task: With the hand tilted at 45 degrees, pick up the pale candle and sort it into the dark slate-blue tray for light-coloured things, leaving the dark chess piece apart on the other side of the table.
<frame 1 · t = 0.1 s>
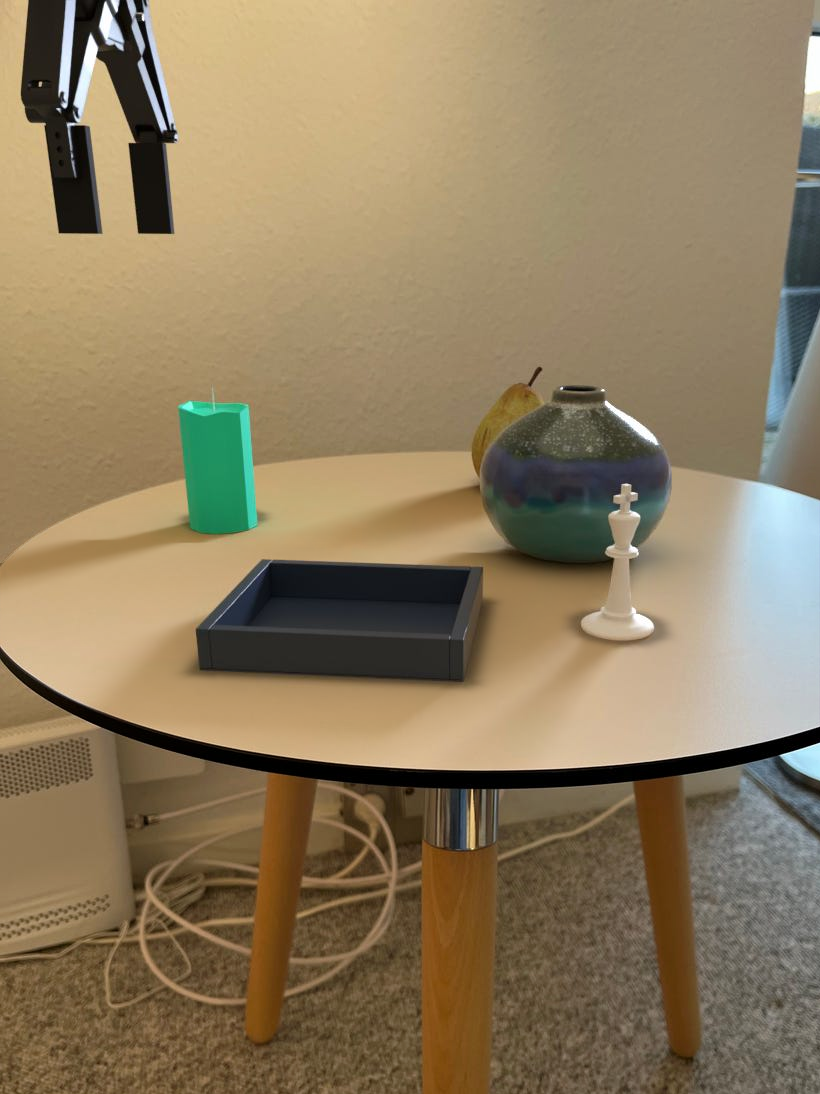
hand: (121, 234, 75), 24 cm above the table, tool pointing down, fingers open, 13 cm apart
fruit: (513, 488, 106), on the table
candle: (224, 526, 91), on the table
chess piece: (616, 636, 67), on the table
vase: (571, 555, 84), on the table
tray: (353, 640, 65), on the table
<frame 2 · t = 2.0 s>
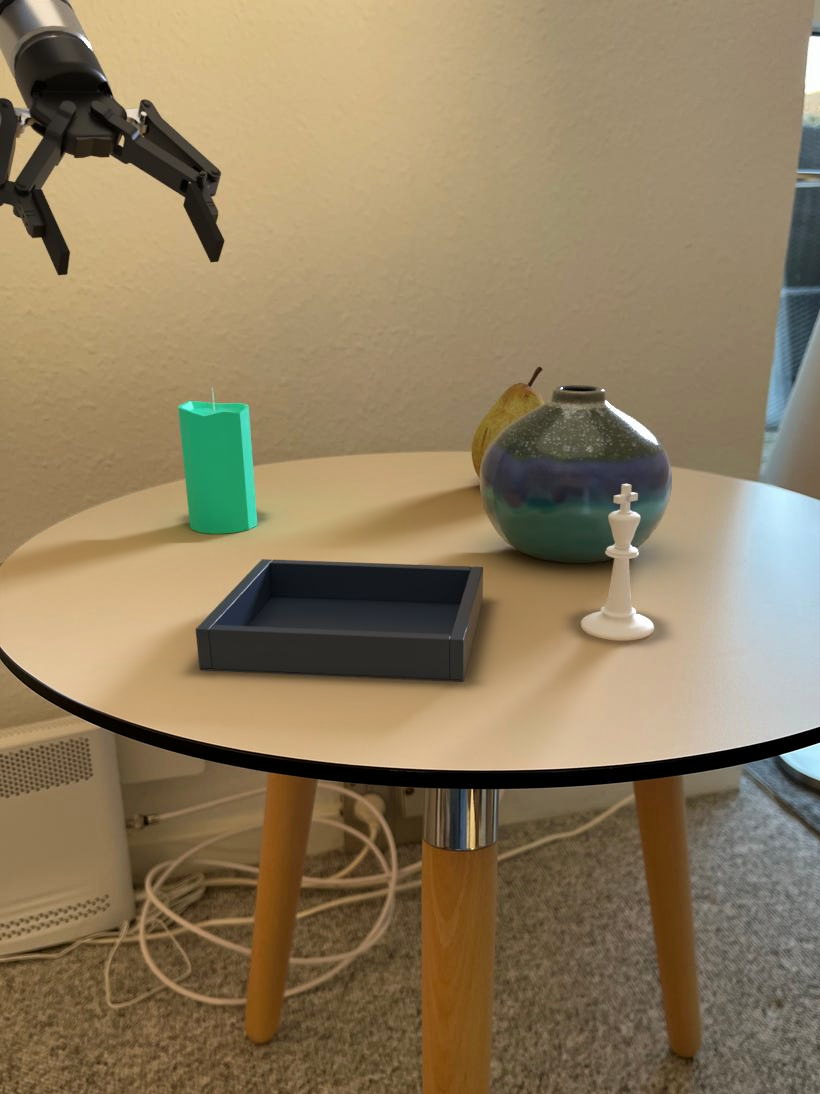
hand: (144, 258, 88), 22 cm above the table, tool tilted 40°, fingers open, 13 cm apart
nothing on the table moved.
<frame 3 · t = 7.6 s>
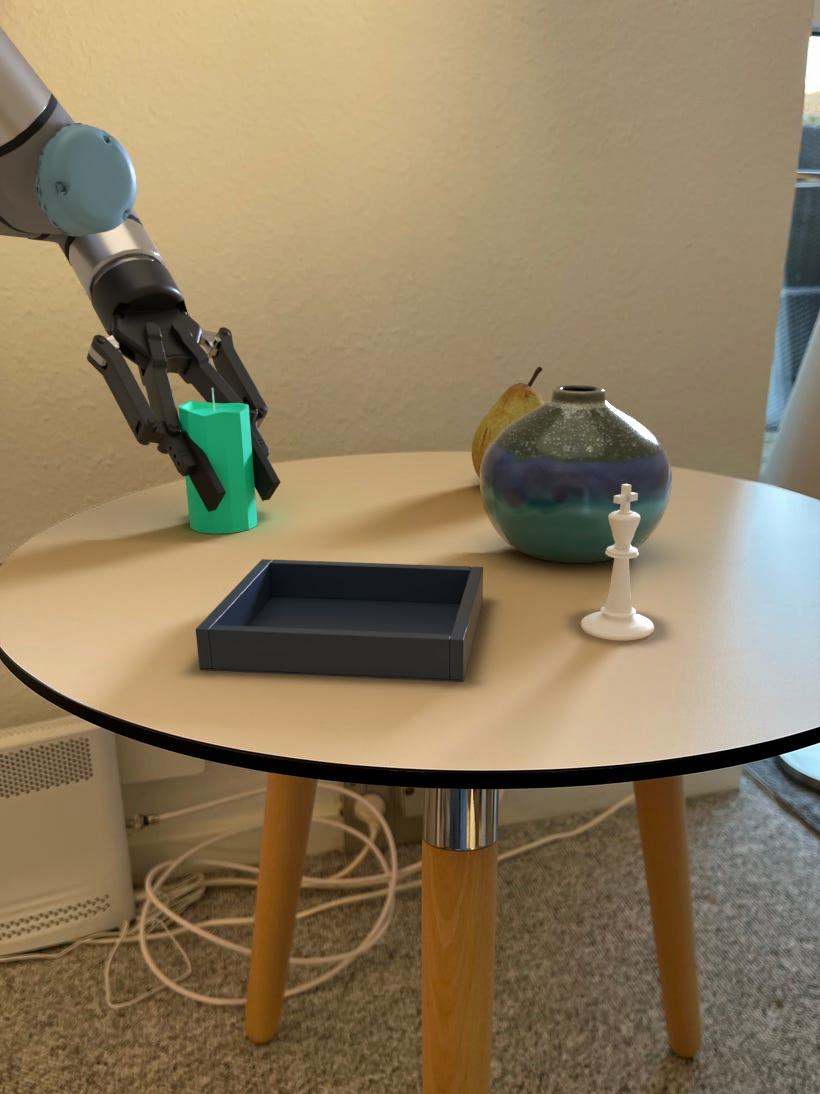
hand: (244, 496, 87), 3 cm above the table, tool tilted 45°, fingers closed on candle, 5 cm apart
candle: (224, 526, 91), on the table, touching gripper
everything else where it was.
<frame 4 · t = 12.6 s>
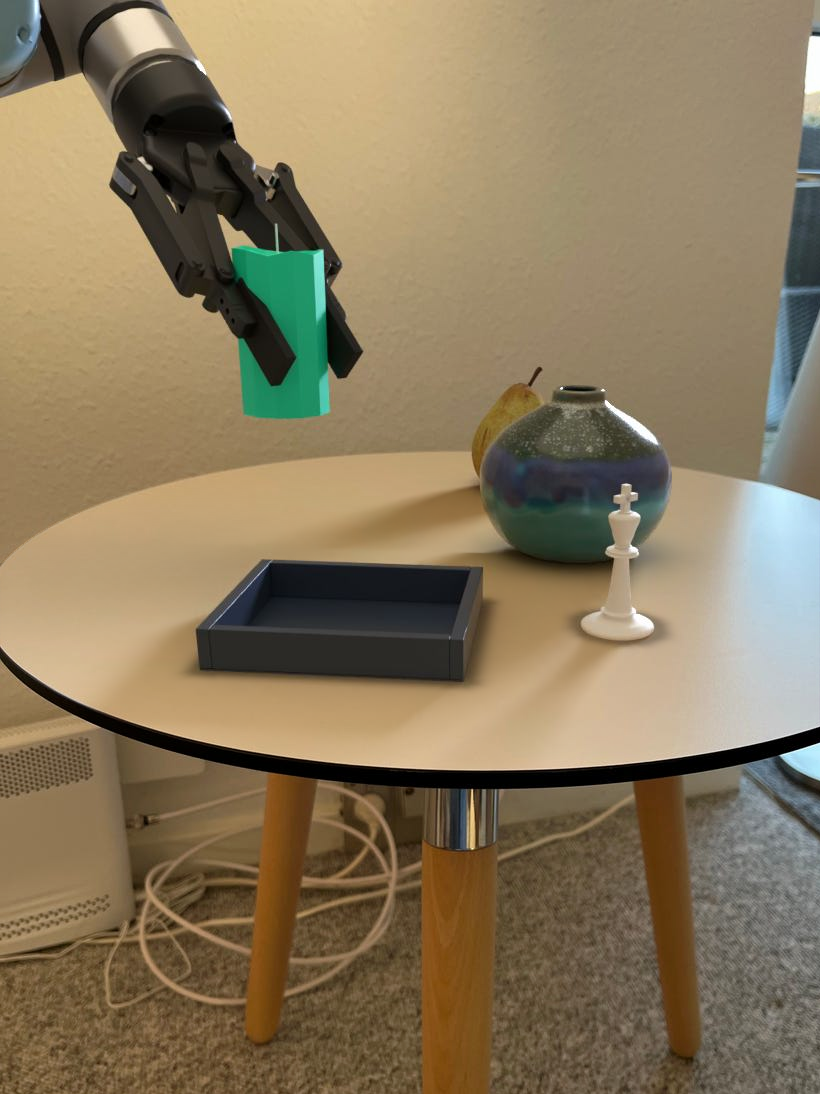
hand: (317, 368, 66), 16 cm above the table, tool tilted 45°, fingers closed on candle, 5 cm apart
candle: (286, 414, 70), point 13 cm above the table, touching gripper
everything else where it was.
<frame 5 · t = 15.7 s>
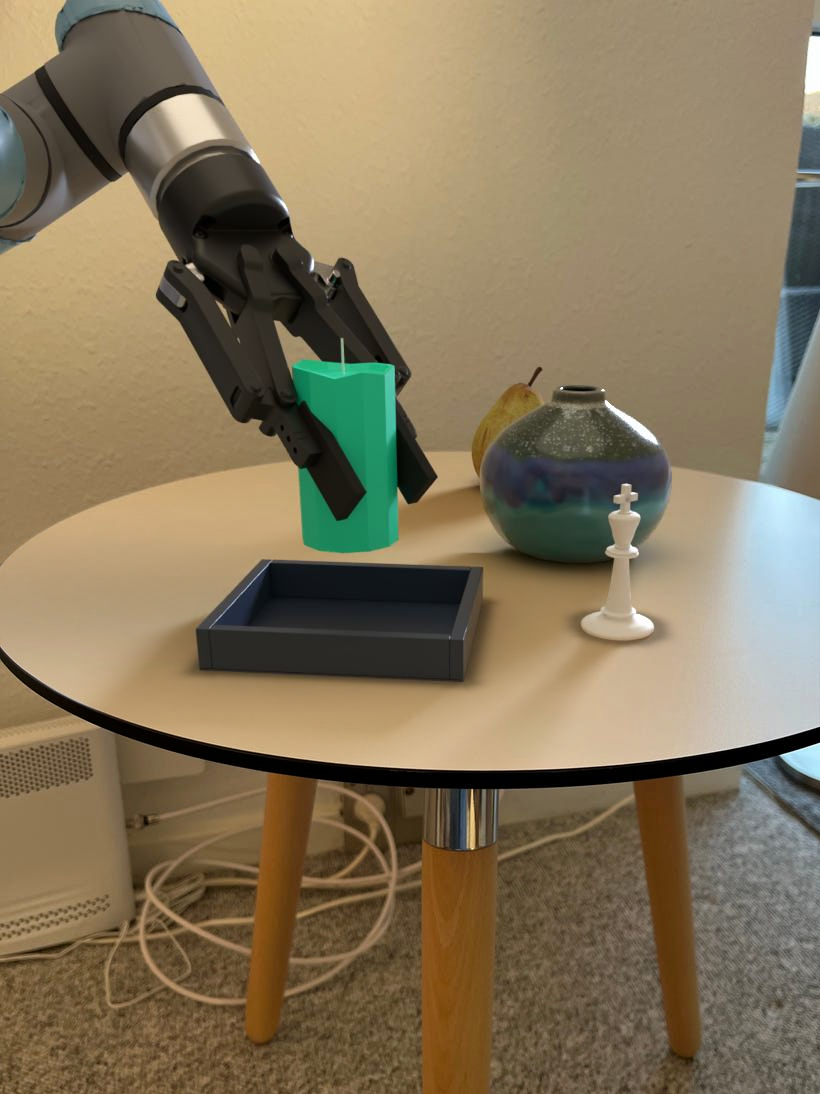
hand: (388, 498, 59), 10 cm above the table, tool tilted 45°, fingers closed on candle, 5 cm apart
candle: (350, 542, 63), point 7 cm above the table, touching gripper
everything else where it was.
when the fingers open (4 cm above the table, at t = 17.7 s): candle stays where it is, resting on tray.
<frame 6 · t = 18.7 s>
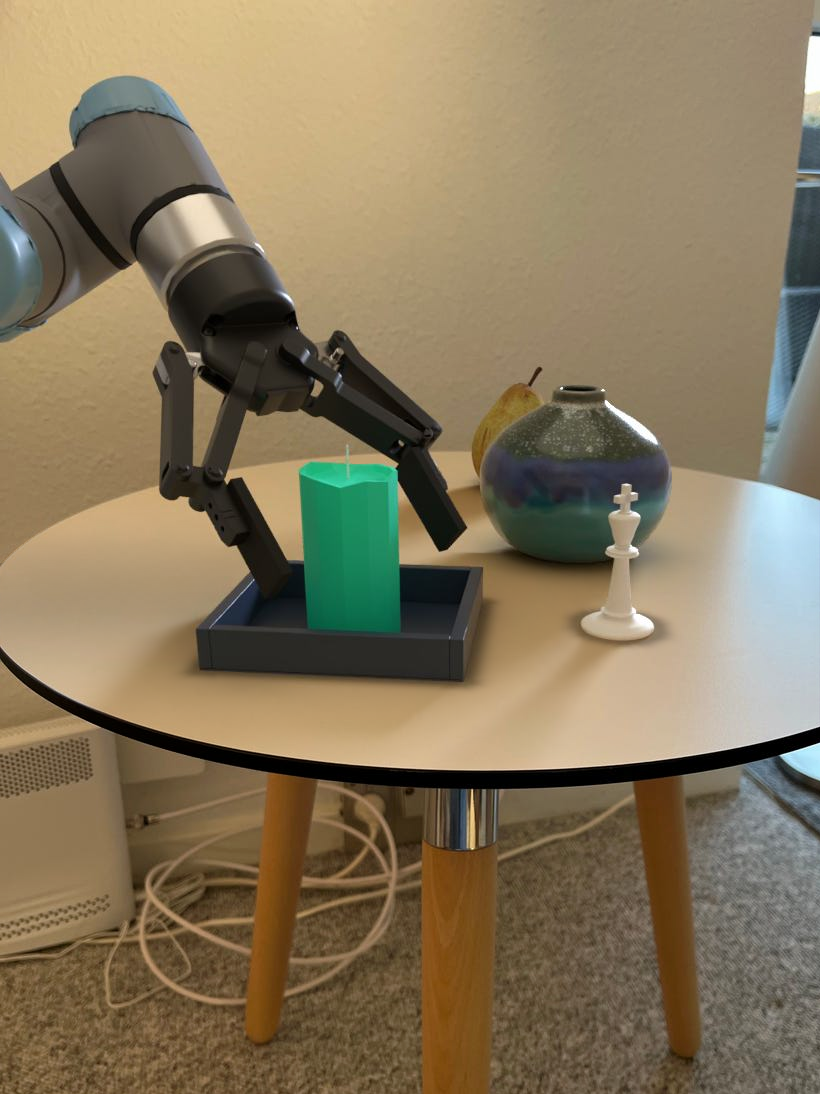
hand: (372, 562, 62), 6 cm above the table, tool tilted 45°, fingers open, 13 cm apart
candle: (354, 634, 65), resting on tray
everything else where it was.
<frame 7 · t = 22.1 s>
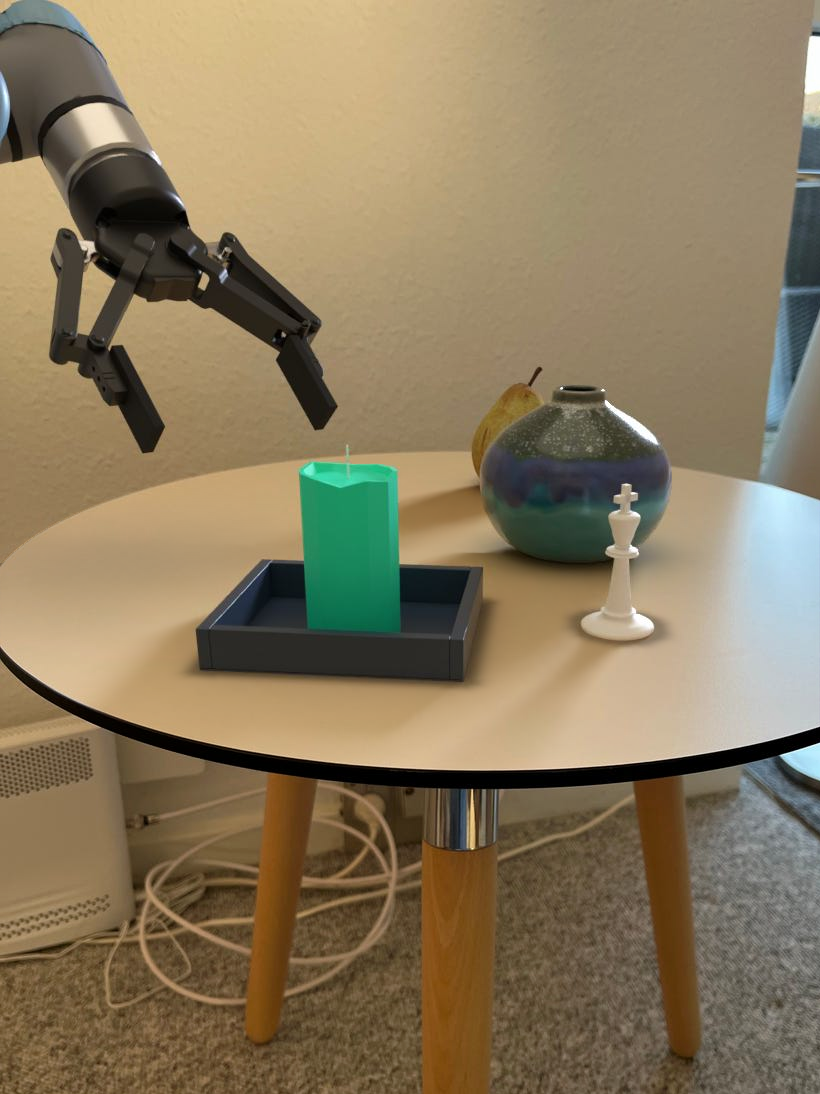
hand: (246, 429, 69), 12 cm above the table, tool tilted 45°, fingers open, 13 cm apart
nothing on the table moved.
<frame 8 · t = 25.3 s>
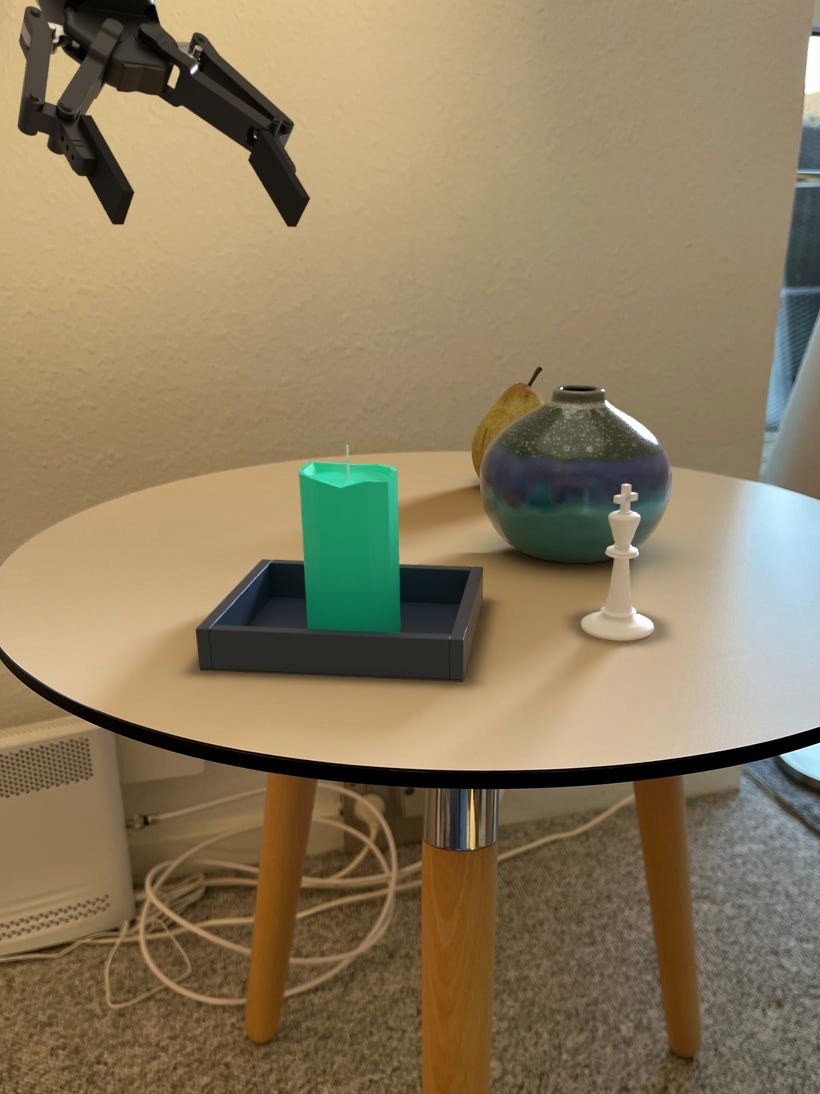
hand: (217, 211, 69), 26 cm above the table, tool tilted 45°, fingers open, 13 cm apart
nothing on the table moved.
at the end: candle inside the target area in the tray (0.0 cm from its centre), point 0.4 cm above the tray's base; candle tilted 0°; chess piece moved 0.2 cm from its start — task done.
